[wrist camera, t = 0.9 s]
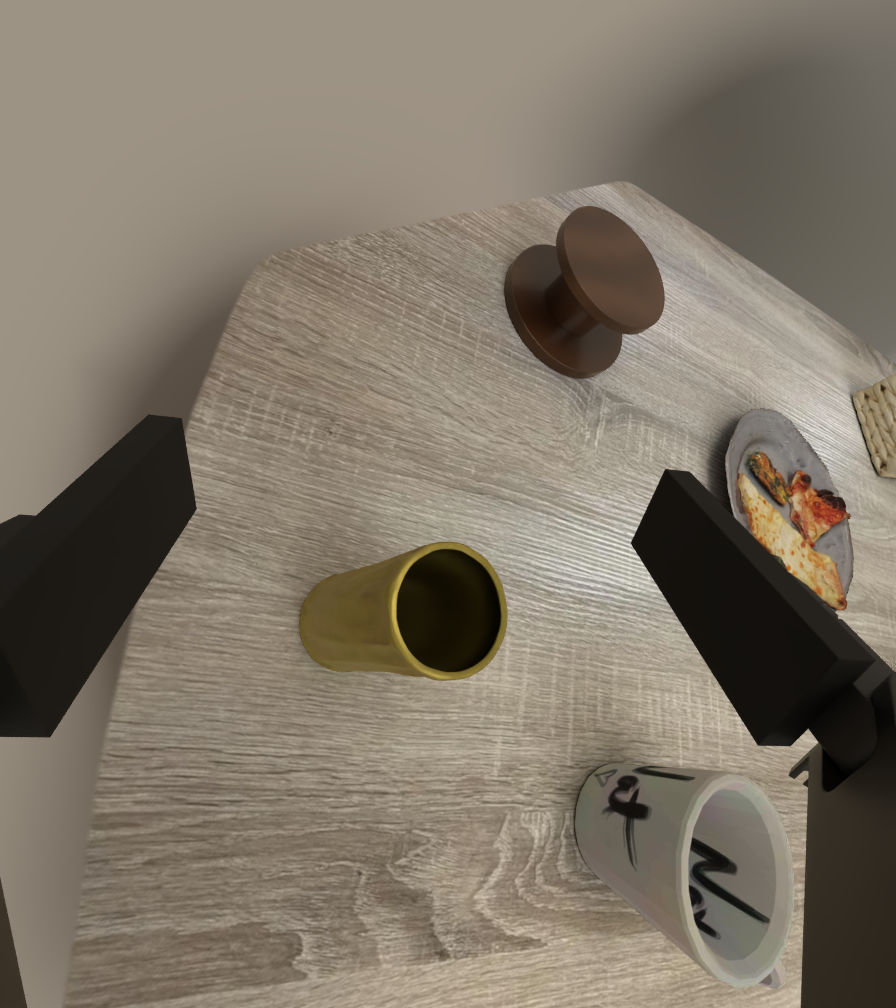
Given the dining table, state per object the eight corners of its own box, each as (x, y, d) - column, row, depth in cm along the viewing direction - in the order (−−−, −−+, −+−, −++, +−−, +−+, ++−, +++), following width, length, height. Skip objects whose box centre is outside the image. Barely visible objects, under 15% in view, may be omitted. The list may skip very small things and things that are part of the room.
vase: (367, 557, 32) (476, 507, 20) (408, 639, 32) (541, 639, 20) (281, 600, 29) (347, 572, 17) (325, 692, 29) (424, 731, 16)
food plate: (845, 517, 65) (877, 511, 62) (818, 660, 54) (856, 661, 51) (738, 383, 60) (767, 369, 57) (684, 508, 49) (716, 500, 46)
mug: (615, 713, 38) (737, 734, 30) (705, 869, 39) (850, 935, 30) (533, 813, 33) (652, 874, 24) (638, 994, 33) (792, 1117, 25)
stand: (478, 267, 44) (525, 206, 38) (568, 242, 51) (619, 187, 45) (555, 398, 44) (614, 359, 38) (633, 354, 51) (693, 316, 45)
